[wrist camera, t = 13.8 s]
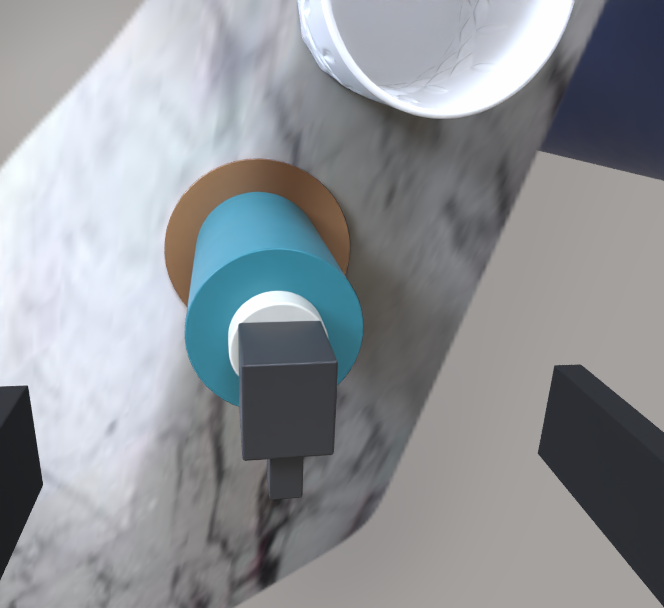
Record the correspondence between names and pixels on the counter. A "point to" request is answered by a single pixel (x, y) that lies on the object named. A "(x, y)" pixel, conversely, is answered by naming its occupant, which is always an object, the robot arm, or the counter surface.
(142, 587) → the counter surface
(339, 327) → the spray bottle
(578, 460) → the robot arm
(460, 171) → the counter surface
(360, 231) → the counter surface
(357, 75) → the white cup
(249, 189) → the coaster
